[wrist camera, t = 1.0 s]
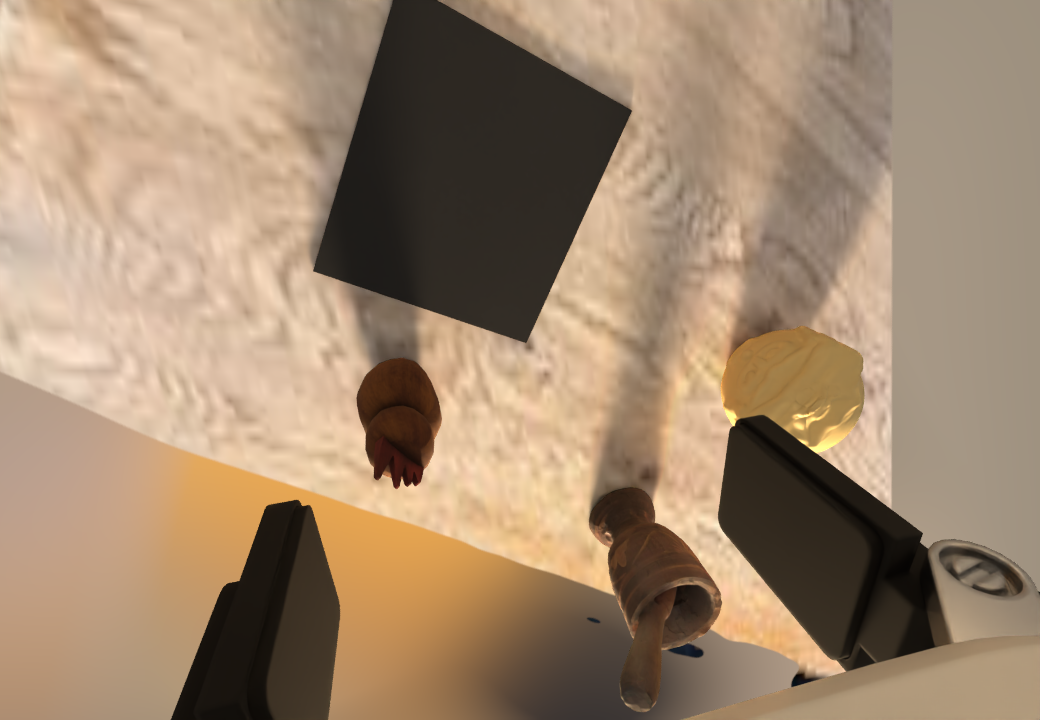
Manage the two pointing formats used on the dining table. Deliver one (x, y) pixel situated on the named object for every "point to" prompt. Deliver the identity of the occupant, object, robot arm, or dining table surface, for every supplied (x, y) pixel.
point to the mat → (466, 172)
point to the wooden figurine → (399, 420)
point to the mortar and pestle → (651, 589)
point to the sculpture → (796, 385)
